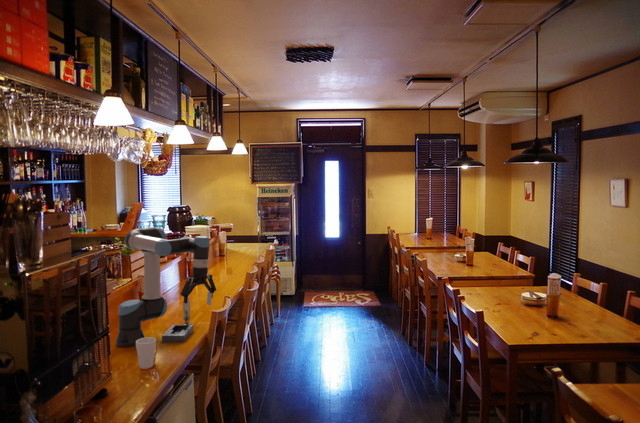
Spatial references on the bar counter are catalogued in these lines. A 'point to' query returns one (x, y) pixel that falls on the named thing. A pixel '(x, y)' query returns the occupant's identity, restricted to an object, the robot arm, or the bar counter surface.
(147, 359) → the foam cup
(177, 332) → the keyhole plate
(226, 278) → the bar counter surface
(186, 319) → the brass post
